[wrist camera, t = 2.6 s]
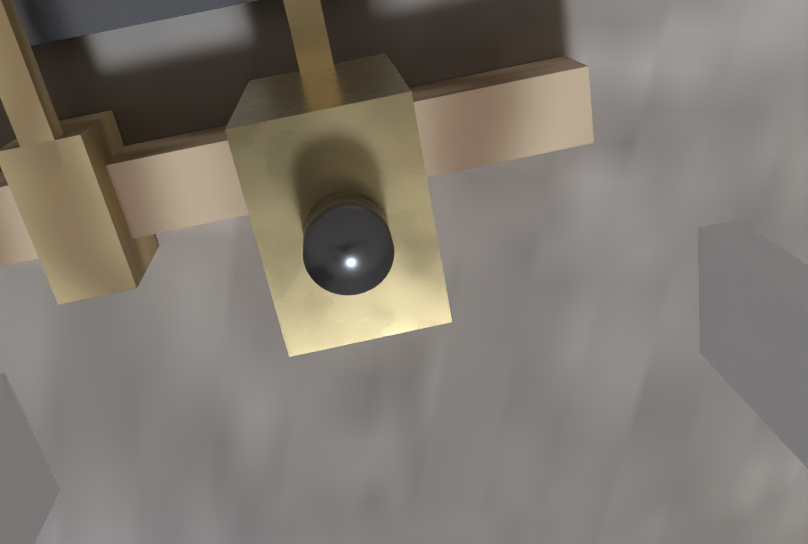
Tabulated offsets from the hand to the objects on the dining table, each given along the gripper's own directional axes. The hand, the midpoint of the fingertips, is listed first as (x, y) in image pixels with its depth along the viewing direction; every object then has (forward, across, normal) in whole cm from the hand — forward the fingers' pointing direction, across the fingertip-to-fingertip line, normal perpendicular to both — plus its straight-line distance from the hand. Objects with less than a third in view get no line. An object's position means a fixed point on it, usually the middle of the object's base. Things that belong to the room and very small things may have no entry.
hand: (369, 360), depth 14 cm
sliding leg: (+17, 0, +4) cm, 17 cm away
